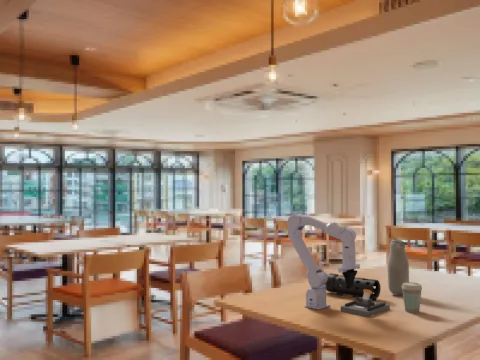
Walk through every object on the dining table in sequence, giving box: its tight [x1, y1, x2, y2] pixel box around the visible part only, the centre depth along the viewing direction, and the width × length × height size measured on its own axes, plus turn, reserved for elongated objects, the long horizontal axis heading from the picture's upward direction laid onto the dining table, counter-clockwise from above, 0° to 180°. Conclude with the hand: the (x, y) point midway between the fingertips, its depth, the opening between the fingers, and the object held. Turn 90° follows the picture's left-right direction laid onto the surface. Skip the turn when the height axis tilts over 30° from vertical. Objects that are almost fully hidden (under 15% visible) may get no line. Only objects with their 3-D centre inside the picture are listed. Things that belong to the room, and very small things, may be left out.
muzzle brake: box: [325, 272, 381, 301], centre depth 230 cm, size 10×28×10 cm, turn 48°
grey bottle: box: [386, 239, 410, 296], centre depth 232 cm, size 10×10×28 cm
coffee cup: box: [402, 281, 423, 314], centre depth 201 cm, size 8×8×12 cm
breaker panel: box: [340, 297, 391, 318], centre depth 204 cm, size 18×14×5 cm
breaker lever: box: [362, 289, 372, 301], centre depth 205 cm, size 2×3×4 cm, turn 44°
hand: (349, 286), depth 204 cm, fingers closed
